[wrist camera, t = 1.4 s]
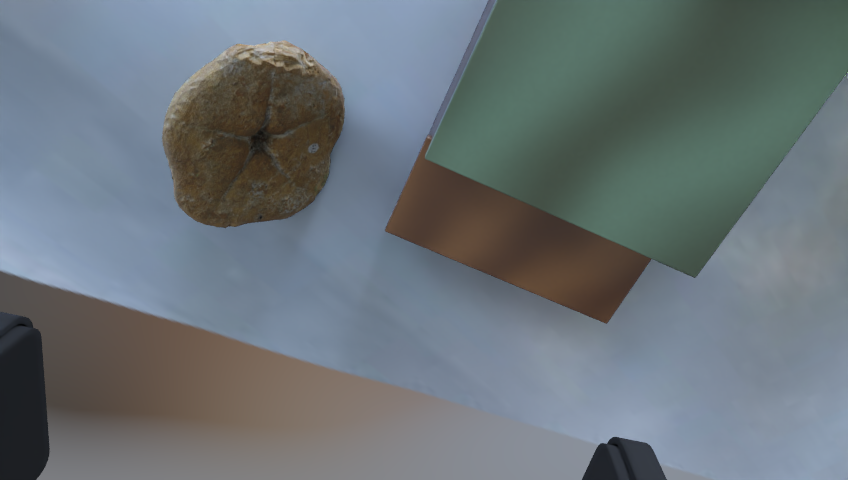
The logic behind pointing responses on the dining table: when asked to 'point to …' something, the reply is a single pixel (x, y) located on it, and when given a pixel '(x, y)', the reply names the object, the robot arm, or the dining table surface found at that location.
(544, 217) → the step shelf
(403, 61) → the dining table surface
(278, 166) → the fossil
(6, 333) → the robot arm
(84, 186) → the dining table surface
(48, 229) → the dining table surface
